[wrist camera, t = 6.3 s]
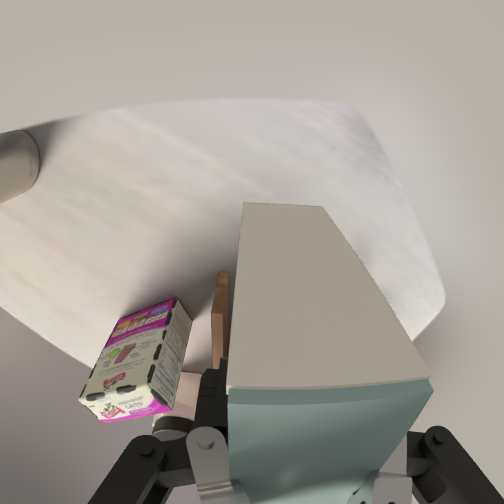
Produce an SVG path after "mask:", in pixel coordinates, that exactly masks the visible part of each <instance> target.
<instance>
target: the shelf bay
mask: <svg viewBox="0 0 504 504" xmlns="http://www.w3.org/2000/svg"><path fill="white" fill-rule="evenodd" d="M228 279H229V273H219V276H218V281H217V286H216V291H215V296H214V301H213V306H212V311H211V330H212V355H213V369H219V364H220V357H226V358H229V346H228Z"/></svg>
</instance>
